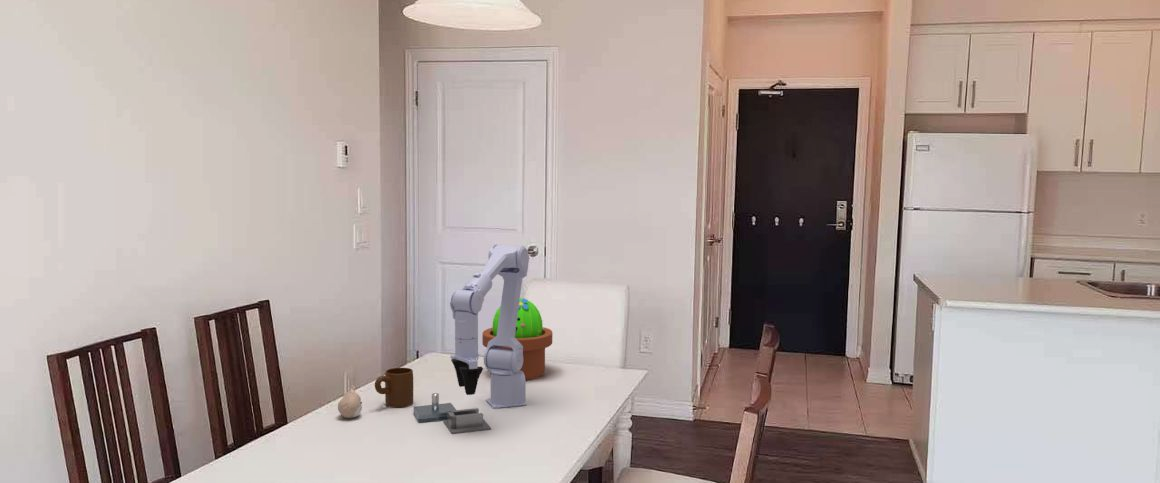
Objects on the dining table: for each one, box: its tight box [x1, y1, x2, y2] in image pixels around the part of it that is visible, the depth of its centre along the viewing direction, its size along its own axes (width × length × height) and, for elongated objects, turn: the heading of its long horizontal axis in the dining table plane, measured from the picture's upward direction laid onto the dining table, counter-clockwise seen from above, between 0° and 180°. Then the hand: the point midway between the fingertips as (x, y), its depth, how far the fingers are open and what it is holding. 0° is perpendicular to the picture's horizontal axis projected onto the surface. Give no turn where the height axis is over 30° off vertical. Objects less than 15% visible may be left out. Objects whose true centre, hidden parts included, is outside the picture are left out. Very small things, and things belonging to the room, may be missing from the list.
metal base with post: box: [413, 392, 457, 424], centre depth 208 cm, size 10×8×6 cm
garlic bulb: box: [337, 384, 363, 419], centre depth 207 cm, size 7×6×8 cm
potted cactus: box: [481, 297, 553, 381], centre depth 251 cm, size 22×22×25 cm
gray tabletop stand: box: [447, 407, 484, 429], centre depth 201 cm, size 8×5×3 cm
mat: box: [442, 418, 492, 435], centre depth 201 cm, size 10×10×1 cm
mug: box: [374, 367, 414, 409], centre depth 217 cm, size 12×8×9 cm, turn 143°
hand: (466, 390), depth 201 cm, fingers open, 7 cm apart
